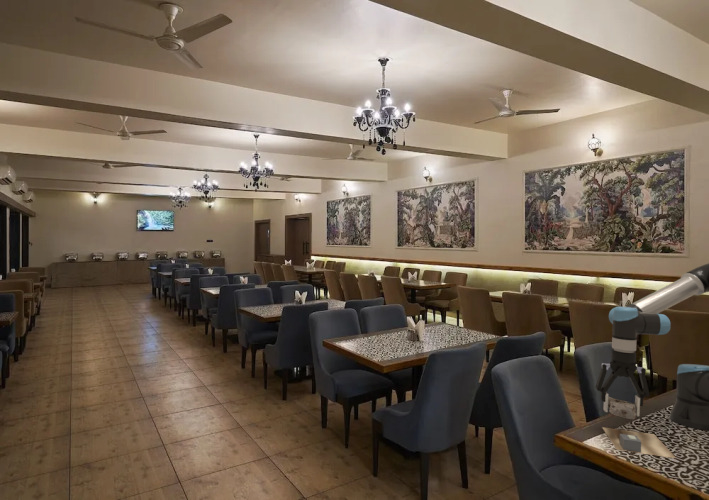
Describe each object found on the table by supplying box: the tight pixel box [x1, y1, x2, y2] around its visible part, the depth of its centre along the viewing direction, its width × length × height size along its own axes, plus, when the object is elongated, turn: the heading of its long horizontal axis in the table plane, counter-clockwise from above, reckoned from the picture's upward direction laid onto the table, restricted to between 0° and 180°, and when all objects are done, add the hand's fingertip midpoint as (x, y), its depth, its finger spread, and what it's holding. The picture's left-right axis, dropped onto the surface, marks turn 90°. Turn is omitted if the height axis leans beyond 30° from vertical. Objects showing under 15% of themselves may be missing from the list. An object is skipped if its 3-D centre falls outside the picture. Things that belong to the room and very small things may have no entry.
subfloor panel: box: [601, 426, 677, 459], centre depth 155 cm, size 17×20×1 cm
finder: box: [619, 434, 641, 453], centre depth 149 cm, size 5×5×4 cm
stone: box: [608, 396, 637, 420], centre depth 160 cm, size 13×6×10 cm
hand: (621, 412), depth 160 cm, fingers closed on stone, 9 cm apart
